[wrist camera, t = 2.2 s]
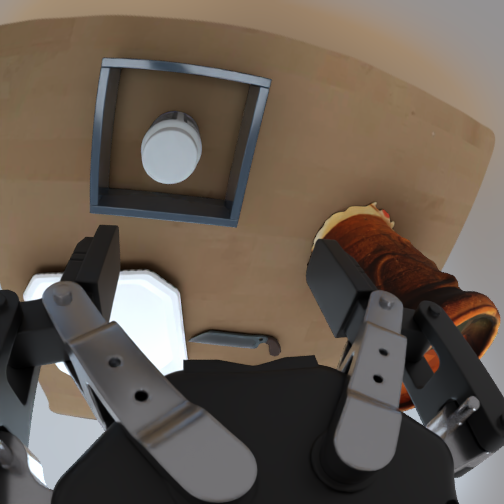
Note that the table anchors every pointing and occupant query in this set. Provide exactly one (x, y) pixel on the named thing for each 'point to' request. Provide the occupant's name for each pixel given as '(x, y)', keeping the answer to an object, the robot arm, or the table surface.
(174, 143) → the pill bottle
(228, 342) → the knife
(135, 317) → the plate
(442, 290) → the vessel
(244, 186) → the square frame
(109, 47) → the table surface
